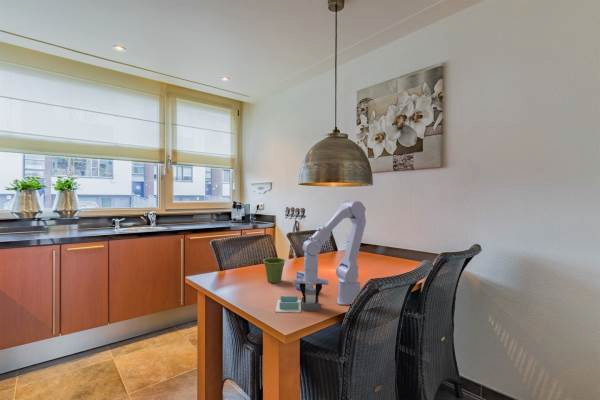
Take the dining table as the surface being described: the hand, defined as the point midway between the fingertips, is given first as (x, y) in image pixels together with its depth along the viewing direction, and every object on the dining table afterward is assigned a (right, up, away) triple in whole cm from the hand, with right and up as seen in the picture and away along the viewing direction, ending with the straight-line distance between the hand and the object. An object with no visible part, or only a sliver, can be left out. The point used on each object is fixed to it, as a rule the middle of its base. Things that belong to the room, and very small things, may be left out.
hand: (310, 301), depth 125 cm
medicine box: (-2, -2, +21) cm, 21 cm away
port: (-9, -2, 0) cm, 9 cm away
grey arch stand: (0, -2, 0) cm, 2 cm away
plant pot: (-18, -1, +35) cm, 39 cm away
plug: (0, -2, 0) cm, 2 cm away
